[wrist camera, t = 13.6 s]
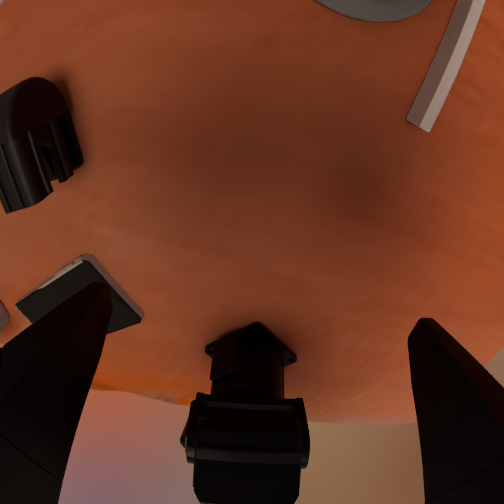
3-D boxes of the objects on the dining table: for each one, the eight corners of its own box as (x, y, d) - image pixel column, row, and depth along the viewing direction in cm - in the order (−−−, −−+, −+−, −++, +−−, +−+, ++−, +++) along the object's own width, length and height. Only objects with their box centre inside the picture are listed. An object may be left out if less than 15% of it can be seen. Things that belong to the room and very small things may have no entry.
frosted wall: (479, -69, 7) (494, -74, 6) (488, -62, 7) (503, -66, 6) (405, 119, 17) (419, 126, 15) (415, 124, 17) (429, 133, 15)
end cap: (66, 68, 15) (-2, 85, 10) (91, 163, 19) (37, 208, 14) (-20, 117, 17) (-78, 147, 11) (4, 191, 20) (-45, 234, 15)
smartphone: (12, 304, 27) (84, 256, 23) (17, 297, 28) (90, 247, 24) (60, 351, 31) (145, 322, 27) (64, 343, 32) (149, 312, 28)
